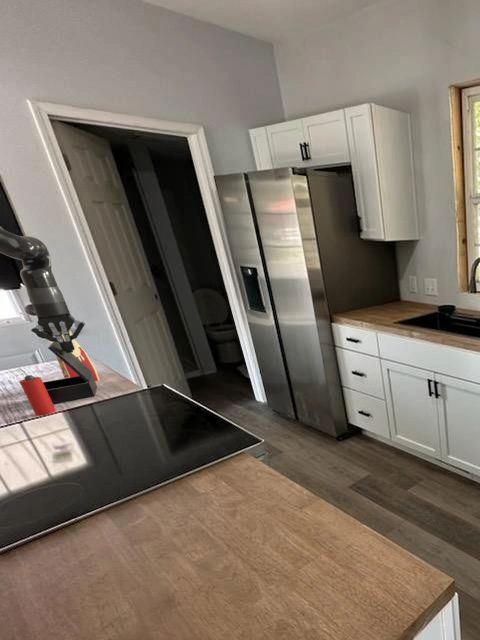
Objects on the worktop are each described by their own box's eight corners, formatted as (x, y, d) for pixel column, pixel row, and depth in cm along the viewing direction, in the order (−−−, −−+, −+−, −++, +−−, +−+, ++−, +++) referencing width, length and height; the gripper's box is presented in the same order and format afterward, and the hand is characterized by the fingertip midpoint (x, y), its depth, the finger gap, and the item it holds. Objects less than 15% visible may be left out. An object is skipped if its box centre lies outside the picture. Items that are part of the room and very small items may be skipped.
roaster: (38, 410, 134) (30, 393, 131) (45, 398, 143) (37, 383, 141) (95, 398, 142) (88, 382, 140) (98, 388, 151) (91, 373, 149)
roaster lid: (47, 347, 131) (50, 346, 132) (53, 340, 141) (56, 339, 142) (86, 382, 139) (89, 380, 140) (90, 373, 149) (92, 371, 149)
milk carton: (95, 377, 163) (75, 328, 156) (102, 382, 158) (81, 331, 151) (63, 384, 156) (40, 333, 149) (69, 389, 151) (45, 336, 144)
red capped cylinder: (35, 419, 126) (15, 378, 122) (38, 415, 130) (18, 375, 125) (56, 415, 129) (37, 375, 124) (58, 410, 132) (39, 372, 128)
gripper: (77, 297, 140) (97, 346, 146) (20, 302, 132) (43, 354, 138) (75, 299, 135) (95, 350, 141) (15, 305, 127) (39, 358, 133)
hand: (69, 352), depth 140 cm, fingers closed
